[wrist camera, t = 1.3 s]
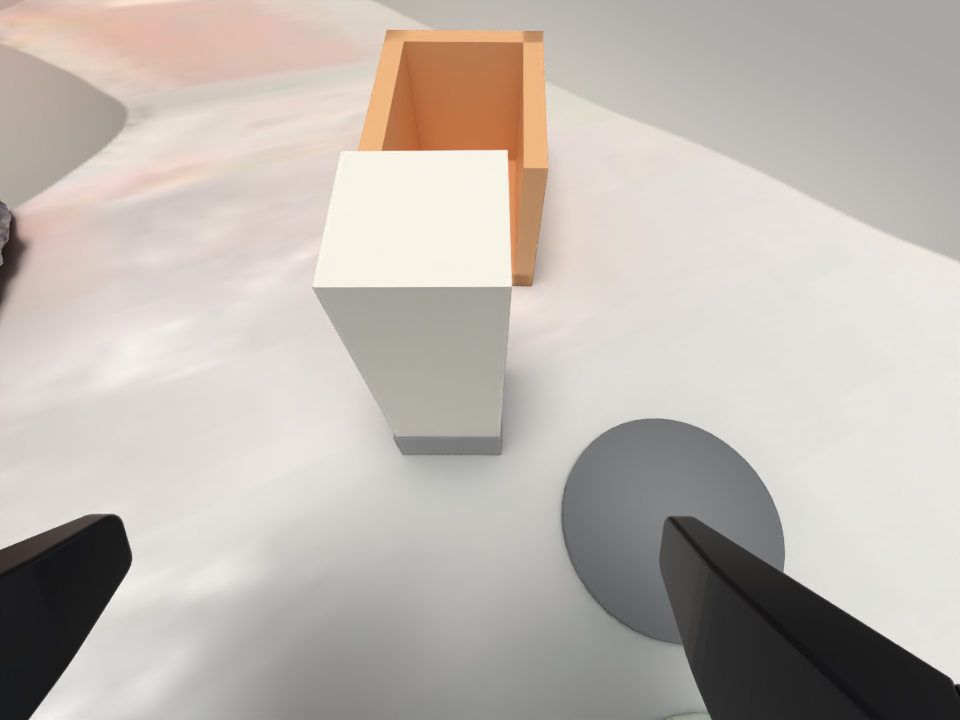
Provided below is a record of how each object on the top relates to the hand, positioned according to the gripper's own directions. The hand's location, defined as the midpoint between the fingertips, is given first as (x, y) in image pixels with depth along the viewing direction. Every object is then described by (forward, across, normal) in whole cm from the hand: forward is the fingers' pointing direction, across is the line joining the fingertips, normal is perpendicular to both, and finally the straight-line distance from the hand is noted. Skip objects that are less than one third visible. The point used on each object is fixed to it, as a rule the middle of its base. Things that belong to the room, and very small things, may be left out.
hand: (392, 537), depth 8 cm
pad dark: (+11, -9, +8) cm, 16 cm away
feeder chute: (+23, 0, -5) cm, 24 cm away
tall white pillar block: (+14, 0, +4) cm, 15 cm away
